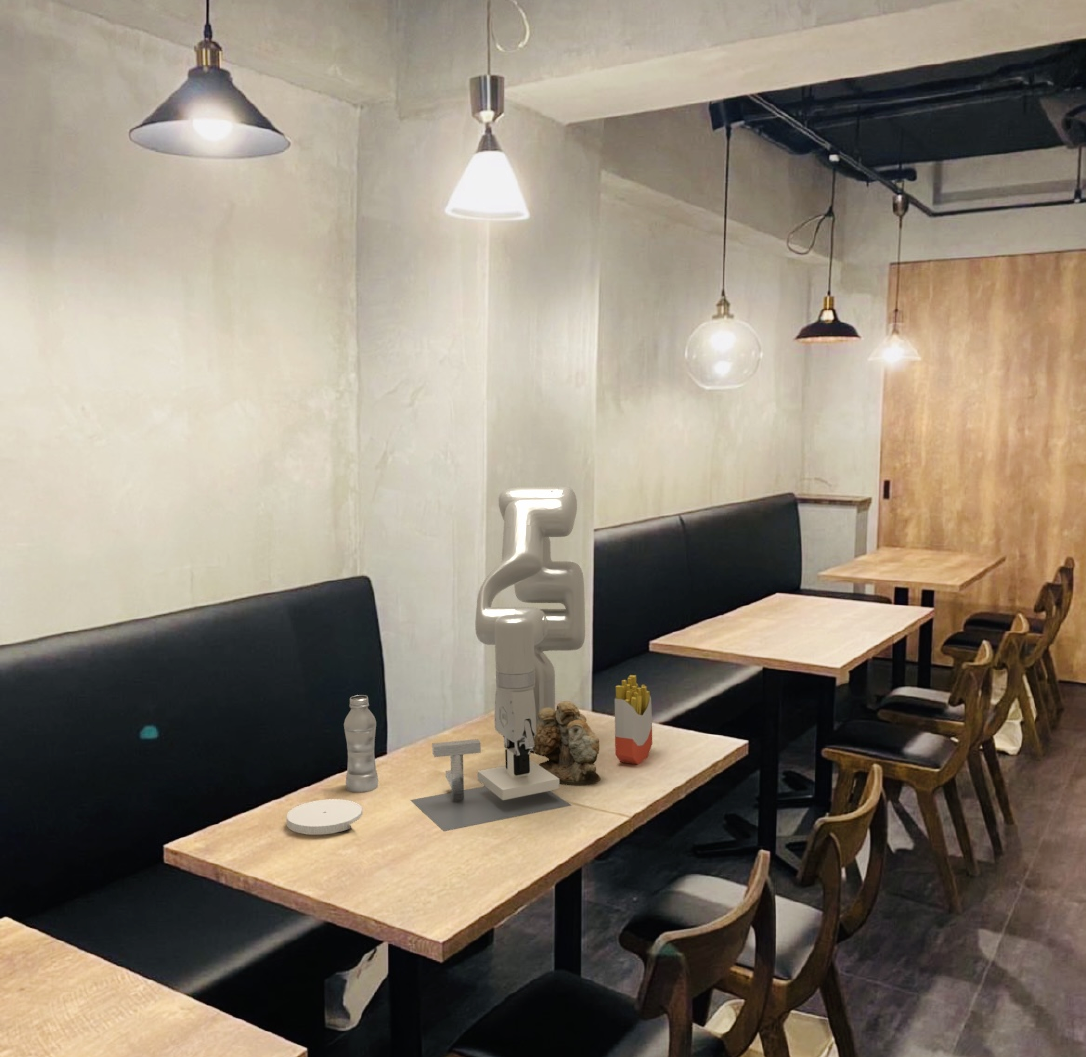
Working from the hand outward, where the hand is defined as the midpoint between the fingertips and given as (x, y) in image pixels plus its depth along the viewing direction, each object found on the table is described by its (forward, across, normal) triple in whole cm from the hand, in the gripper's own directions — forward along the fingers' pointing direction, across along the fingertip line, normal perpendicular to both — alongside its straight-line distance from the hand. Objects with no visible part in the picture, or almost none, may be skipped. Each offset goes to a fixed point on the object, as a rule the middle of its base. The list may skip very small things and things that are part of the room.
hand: (517, 770), depth 206 cm
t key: (+5, -6, -11) cm, 13 cm away
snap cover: (+3, 0, 0) cm, 3 cm away
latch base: (+7, 0, -6) cm, 9 cm away
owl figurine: (+7, -6, +14) cm, 17 cm away
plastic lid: (+7, -9, -36) cm, 38 cm away
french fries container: (+7, -12, +34) cm, 36 cm away
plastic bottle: (+7, -21, -25) cm, 33 cm away
